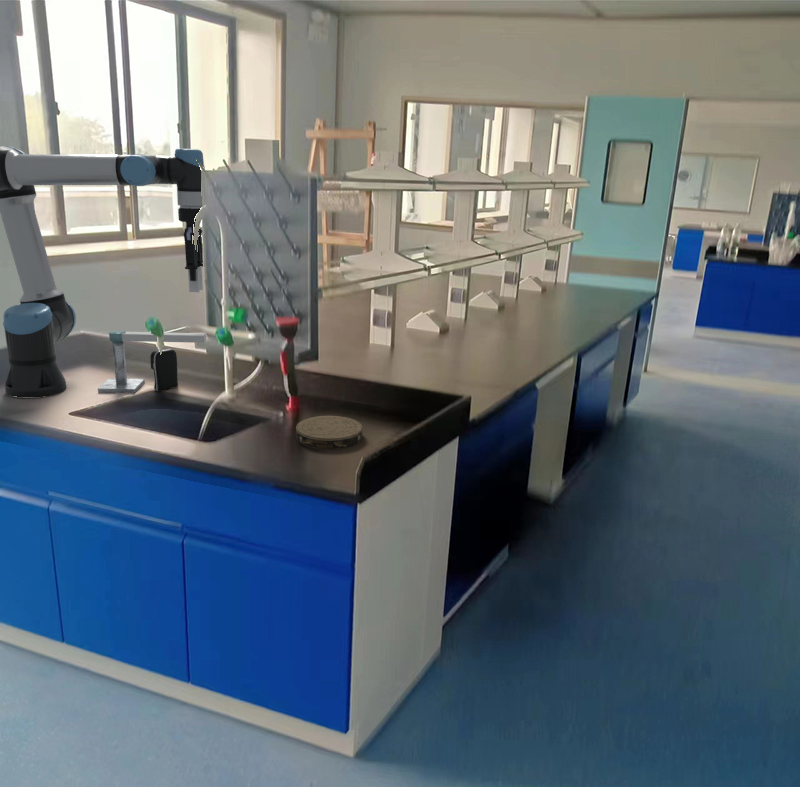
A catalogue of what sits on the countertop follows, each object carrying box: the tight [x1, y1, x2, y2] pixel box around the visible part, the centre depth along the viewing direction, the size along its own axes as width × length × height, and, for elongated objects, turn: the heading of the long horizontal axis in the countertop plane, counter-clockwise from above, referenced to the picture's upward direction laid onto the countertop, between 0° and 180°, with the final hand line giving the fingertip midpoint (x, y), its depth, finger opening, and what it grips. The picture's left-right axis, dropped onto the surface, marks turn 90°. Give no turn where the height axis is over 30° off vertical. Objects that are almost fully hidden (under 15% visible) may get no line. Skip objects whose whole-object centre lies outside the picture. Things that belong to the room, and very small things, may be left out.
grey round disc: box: [295, 415, 363, 450], centre depth 177 cm, size 16×16×3 cm
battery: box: [149, 348, 179, 392], centre depth 207 cm, size 7×4×11 cm, turn 142°
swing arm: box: [108, 330, 207, 344], centre depth 205 cm, size 26×4×2 cm, turn 93°
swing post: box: [97, 341, 146, 394], centre depth 206 cm, size 10×10×14 cm
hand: (196, 290), depth 211 cm, fingers open, 4 cm apart
